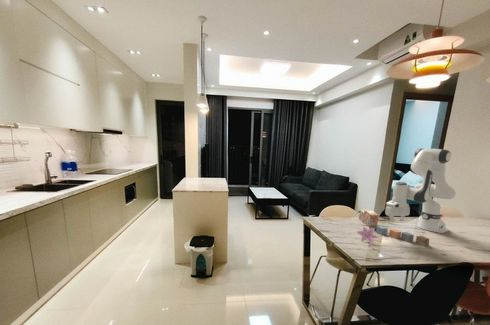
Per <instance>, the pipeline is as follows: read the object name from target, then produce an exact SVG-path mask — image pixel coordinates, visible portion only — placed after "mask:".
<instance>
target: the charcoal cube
mask: <svg viewBox="0 0 490 325" xmlns="http://www.w3.org/2000/svg"><path fill="white" fill-rule="evenodd" d="M400 240H403V241H405V242H408V243H411V242H414V234H412V233H410V232H408V231H401V238H400Z"/></svg>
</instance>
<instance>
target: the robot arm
mask: <svg viewBox="0 0 490 325" xmlns="http://www.w3.org/2000/svg"><path fill="white" fill-rule="evenodd" d="M413 157H414V158H413V160H412V162H411V165H410V170H411V172H413V173H414V174H416V175H417V176H419V177H421V178H422V182H418V183H416V184H414V186H413V187H412V186H409V185H408V183H407V182H403V181H401V182H400V181H399V182H395V183H394V186H393V189H392V197H391V200H389V201H387V202H386V204H385V205H386V206H385V209H384V210H385V211H384V213H385V216H387V217H389V221H390V222H391V223H392V222H395V219H394V217H399V221H400V222H403V221H404V219H405V217H406V216H409V215H410V213H411V212H410V210H411V208H410V204H409V203H408V202H407V200H411V201H414V202H417V203H419V204H422V210H421V211H420V216H419V217H418V221H417V222H416V225H417V227H418V228H420V229H422V230H425V231H429V232H435V233H438V234H444V233H447V232H449V231H450V228H447V227H446V225H447V224H446V222H445V221H443V220H442V219H441V218H442V217H444V214H441V208H442V207H441V204H440V203H439V202H437V201H435V200H434V199H433V198H437V199H441V200H452V199H454V198H455V196H456V194H457V193H456V190H455V189H454V187H451V186H450V185H449V184H448V182H447V180H446V176H445V174H446V163H449V161H451V158H452V153H451V152H450V150H447V149H441V148H418V149H417V150H415V152H414V156H413ZM432 182H433V183H434V184H433V183H432Z"/></svg>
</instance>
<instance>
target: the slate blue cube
mask: <svg viewBox="0 0 490 325" xmlns="http://www.w3.org/2000/svg"><path fill="white" fill-rule="evenodd" d="M375 232H376V233H377V234H379V235H381V236H383V235H388V227H385V226H383V225H377V229H376V230H375Z"/></svg>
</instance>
